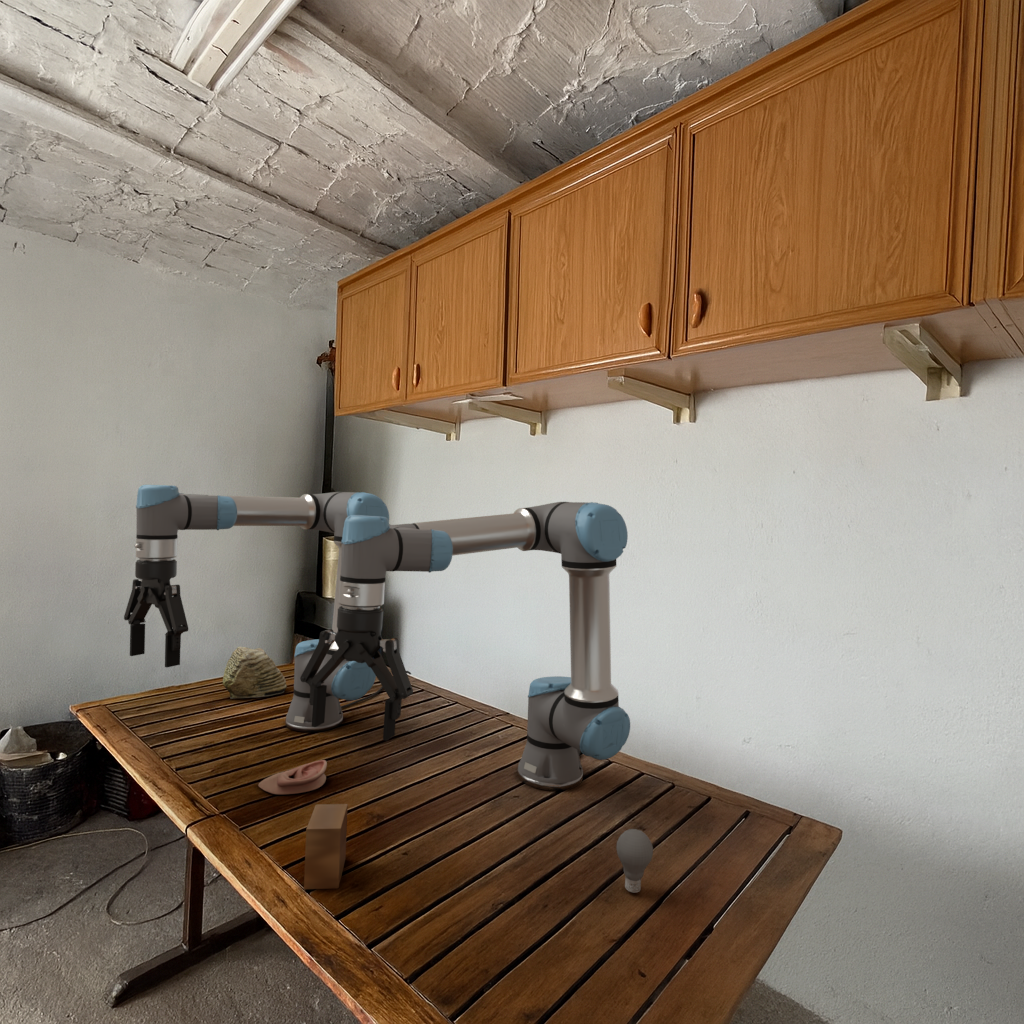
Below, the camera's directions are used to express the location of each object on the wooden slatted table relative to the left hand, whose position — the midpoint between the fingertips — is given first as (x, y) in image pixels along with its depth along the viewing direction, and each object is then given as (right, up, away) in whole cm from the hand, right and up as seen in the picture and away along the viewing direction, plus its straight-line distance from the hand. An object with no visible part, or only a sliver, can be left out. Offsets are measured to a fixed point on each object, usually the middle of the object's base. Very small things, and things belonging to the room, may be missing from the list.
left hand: (154, 660), depth 132 cm
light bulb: (+95, -32, -27) cm, 104 cm away
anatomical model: (+27, -29, +7) cm, 40 cm away
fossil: (-6, -26, +66) cm, 71 cm away
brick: (+43, -30, -25) cm, 59 cm away
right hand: (+48, -6, -25) cm, 54 cm away
